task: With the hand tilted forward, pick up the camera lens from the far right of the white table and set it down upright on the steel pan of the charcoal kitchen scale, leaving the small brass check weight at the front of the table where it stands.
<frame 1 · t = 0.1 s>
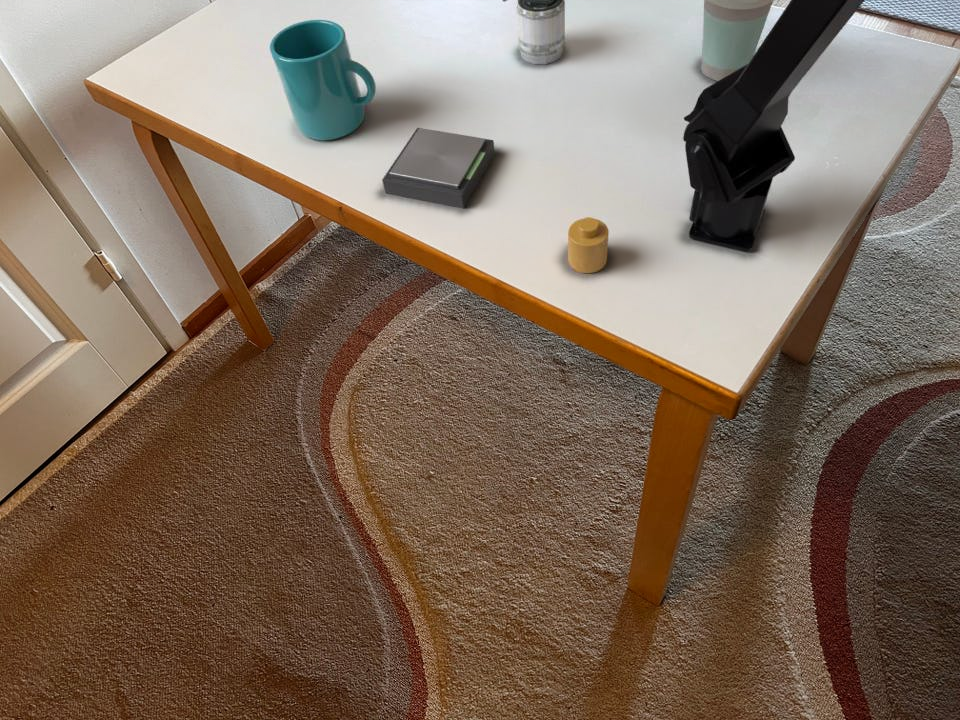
coffee cup: (724, 70, 92), on the table
camera lens: (541, 54, 98), on the table
scale: (440, 173, 85), on the table
cup: (342, 123, 93), on the table
brass weight: (587, 259, 75), on the table
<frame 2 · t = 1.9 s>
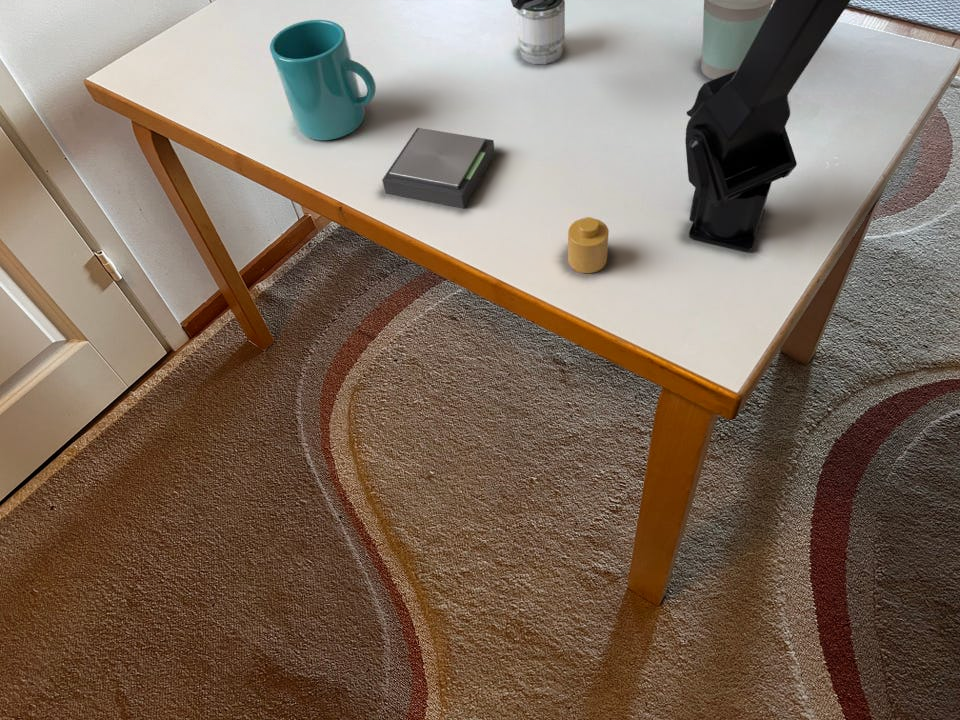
nothing on the table moved.
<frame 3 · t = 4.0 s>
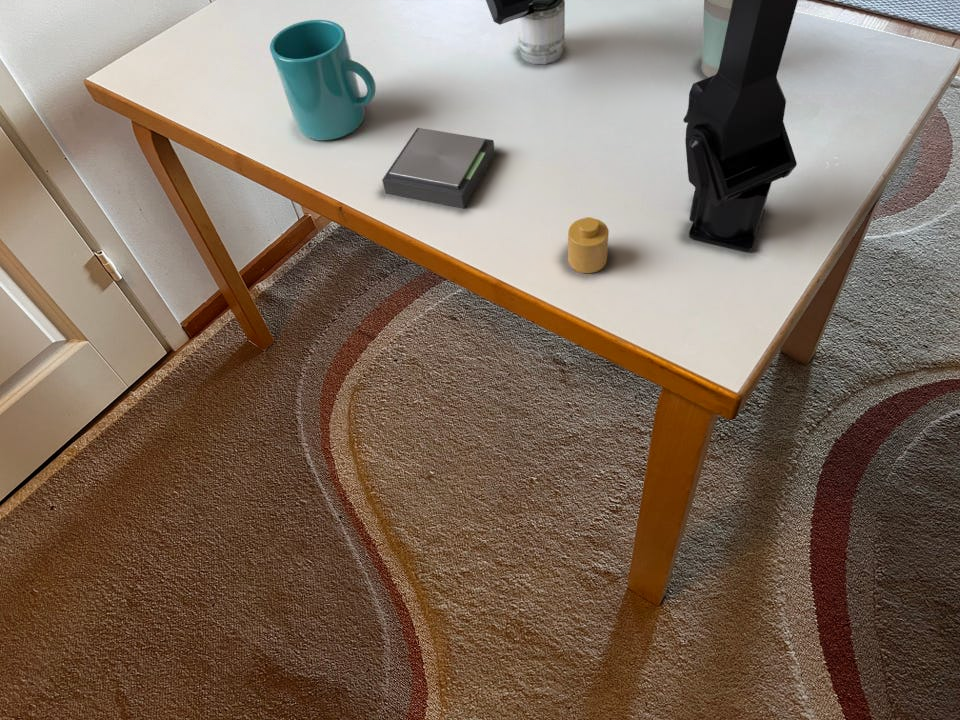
hand: (535, 1, 94), 7 cm above the table, tool tilted 45°, fingers closed on camera lens, 6 cm apart
camera lens: (541, 54, 98), on the table, touching gripper
everything else where it was.
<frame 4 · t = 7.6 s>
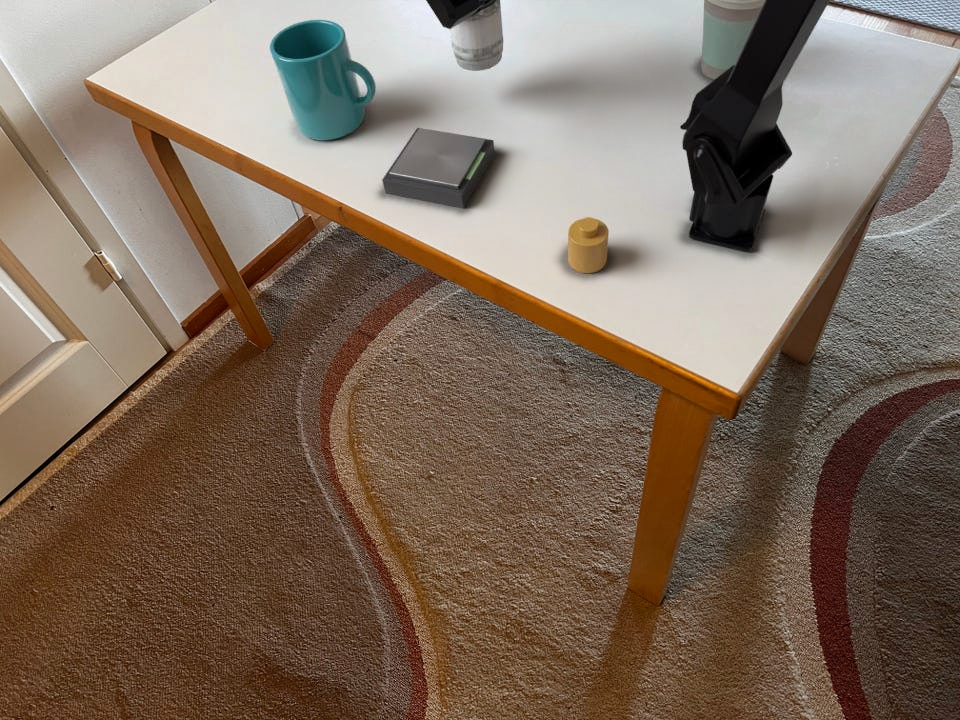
hand: (465, 2, 84), 12 cm above the table, tool tilted 45°, fingers closed on camera lens, 6 cm apart
camera lens: (479, 59, 89), point 6 cm above the table, touching gripper
everything else where it was.
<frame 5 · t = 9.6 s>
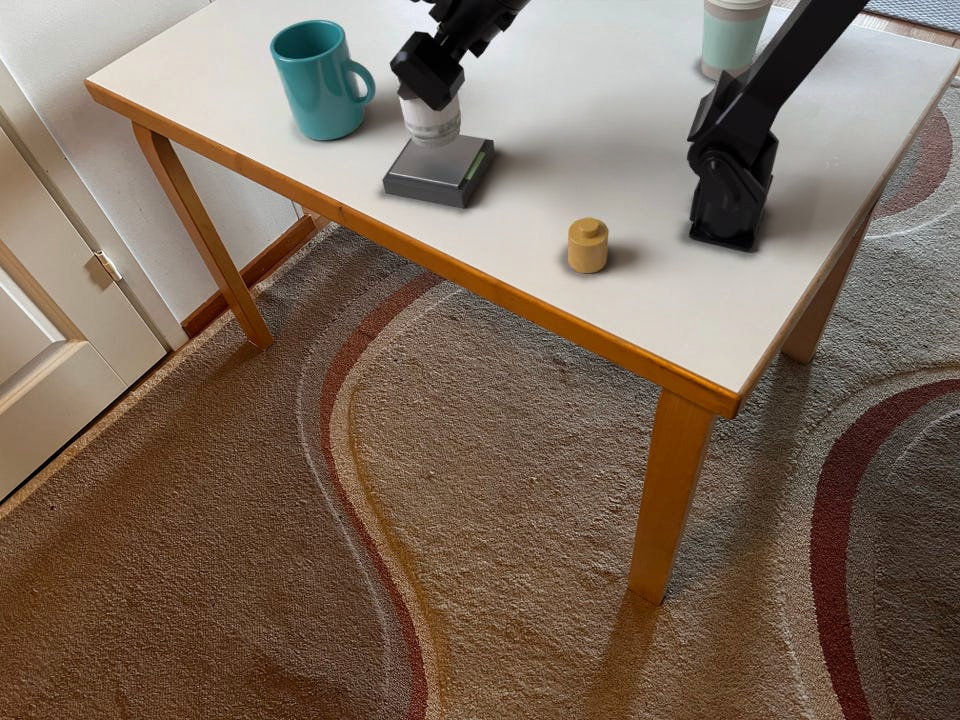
hand: (414, 78, 76), 12 cm above the table, tool tilted 45°, fingers closed on camera lens, 6 cm apart
camera lens: (435, 134, 81), point 5 cm above the table, touching gripper
everything else where it was.
when the fingers open (9 cm above the table, at t = 11.3 s): camera lens stays where it is, resting on scale.
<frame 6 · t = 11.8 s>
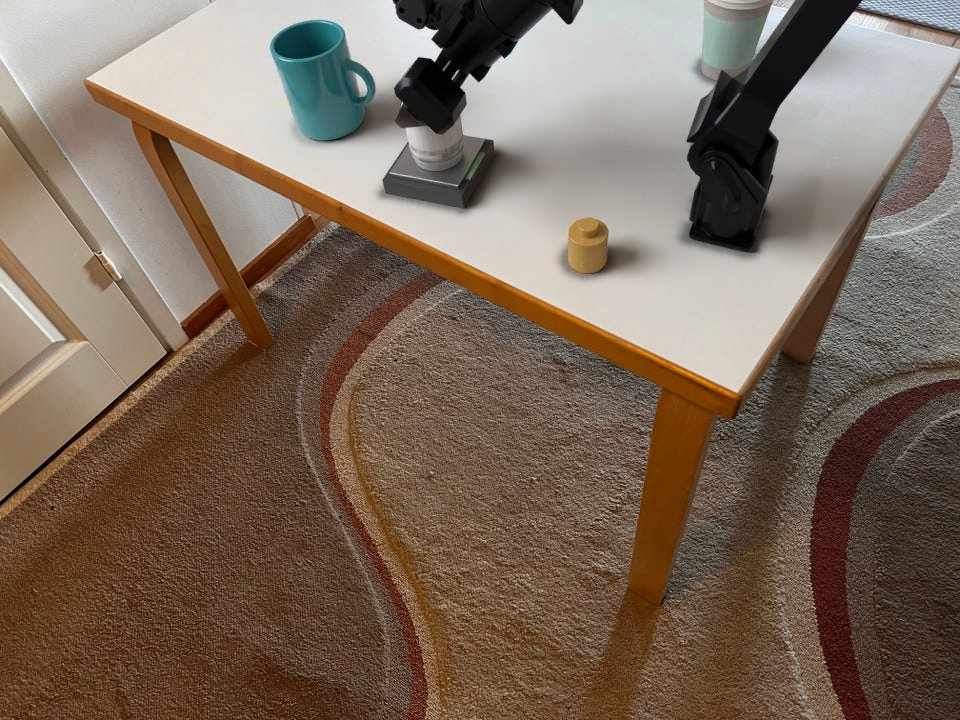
hand: (416, 98, 78), 10 cm above the table, tool tilted 45°, fingers open, 9 cm apart
camera lens: (439, 157, 83), point 2 cm above the table, touching scale
everything else where it was.
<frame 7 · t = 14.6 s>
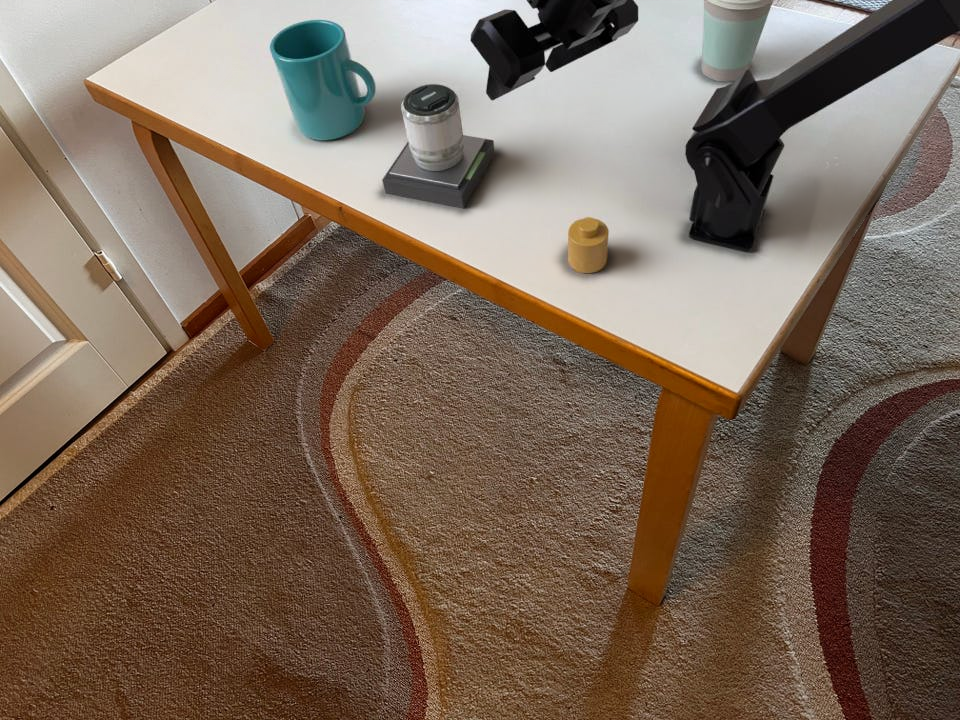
hand: (520, 81, 75), 11 cm above the table, tool tilted 35°, fingers open, 9 cm apart
nothing on the table moved.
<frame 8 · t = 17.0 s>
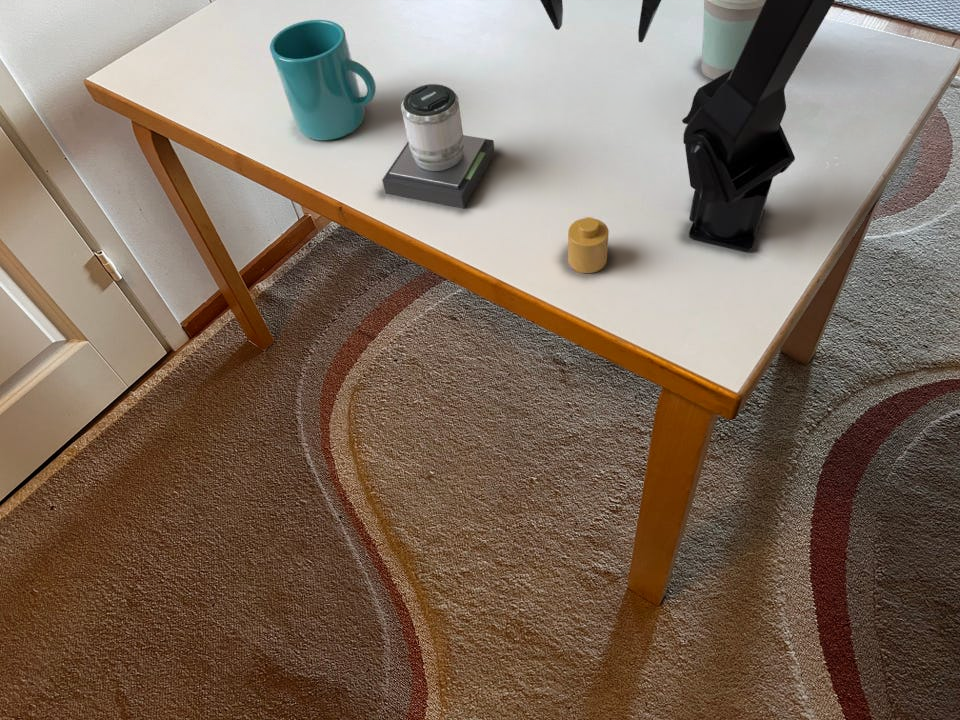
hand: (599, 33, 76), 13 cm above the table, tool pointing down, fingers open, 9 cm apart
nothing on the table moved.
at the end: camera lens inside the target area on the scale (0.1 cm from its centre), point 2.4 cm above the scale's base; camera lens tilted 0°; brass weight moved 0.0 cm from its start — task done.
